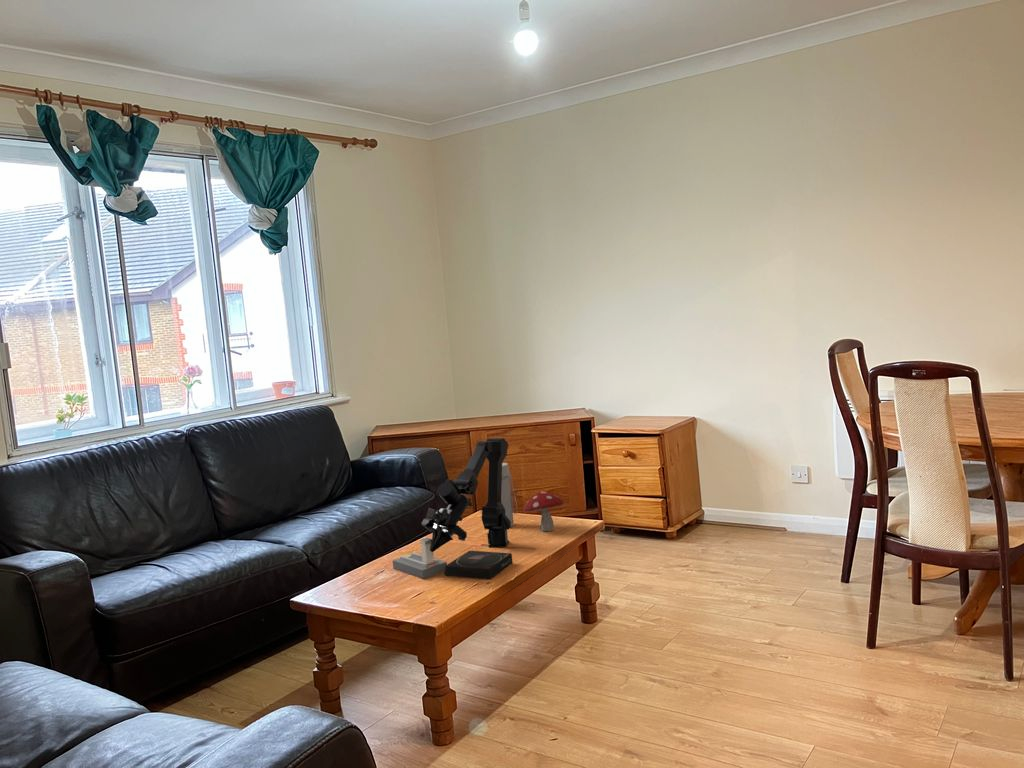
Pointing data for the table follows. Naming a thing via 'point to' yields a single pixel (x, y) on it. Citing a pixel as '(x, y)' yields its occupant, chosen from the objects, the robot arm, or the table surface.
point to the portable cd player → (478, 565)
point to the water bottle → (507, 493)
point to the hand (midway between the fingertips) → (431, 551)
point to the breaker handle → (427, 551)
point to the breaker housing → (418, 566)
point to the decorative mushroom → (544, 508)
